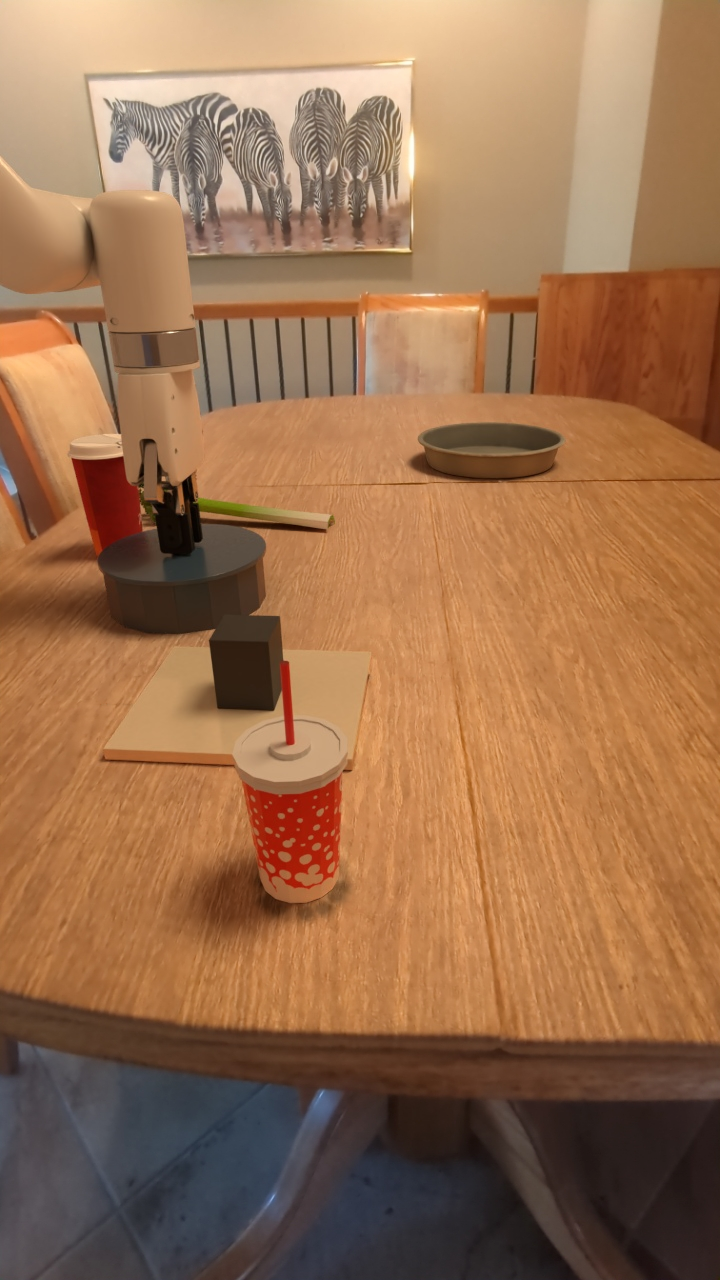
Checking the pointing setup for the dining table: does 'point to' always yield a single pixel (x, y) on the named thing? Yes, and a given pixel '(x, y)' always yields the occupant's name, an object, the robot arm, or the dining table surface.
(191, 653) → the board
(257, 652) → the block
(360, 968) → the dining table surface
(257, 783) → the beverage cup
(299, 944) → the dining table surface
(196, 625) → the pot
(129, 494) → the paper cup
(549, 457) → the cake pan
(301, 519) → the celery stalk
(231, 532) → the lid
